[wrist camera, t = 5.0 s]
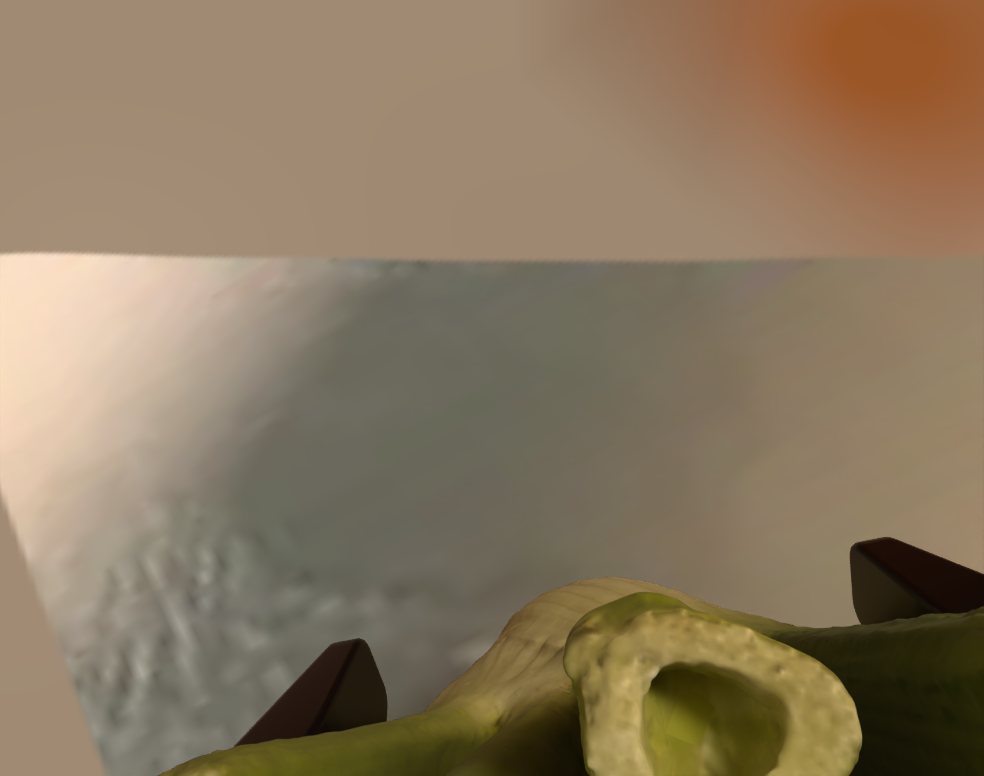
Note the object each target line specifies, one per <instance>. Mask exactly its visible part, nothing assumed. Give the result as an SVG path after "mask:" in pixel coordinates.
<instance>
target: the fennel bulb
mask: <svg viewBox="0 0 984 776" xmlns="http://www.w3.org/2000/svg"><path fill="white" fill-rule="evenodd" d="M158 776H984V606H983V607H980V608H978V609H976V610H972V611H969V612H968V613H961V614H952V613H945V614H925V615H922V616H919V617H917V618H910V619H895V620H892V621H888V622H884V623H879V624H870V625H853V626H849V627H831V628H810V627H796V626H794V625H791V624H786V623H780V622H777V621H774V620H771V619H768V618H764V617H761V616H755V615H749V614H746V613H742V612H738V611H732V610H728V609H724V608H721V607H718V606H715V605H713V604H710V603H707V602H705V601H702V600H699V599H696V598H694V597H691V596H688V595H686V594H684V593H683V592H680V591H678V590H676V589H668V588H665V587H663V586H661V585H656V584H654V583H648V582H646V581H637V580H632V579H627V578H614V577H608V576H607V577H604V578H598V579H586V580H582V581H578V582H574V583H572V584H569V585H566V586H564V587H561V588H558V589H555V590H551V591H548V592H546V593H544V594H542V595H540V596H539V597H537V598H536V599H535V600H533V601H532V602H530V603H528V604H527V605H526V606H525V607H524V608H523V609H521V610H520V611H518V612H517V613H515V614H514V615H513V616H512V617H511V619H510V620H509V622H508V623H507V625H506V626H505V628H504V629H503V631H502V633H501V635H500V637H499V639H498V640H497V641H496V642H495V643H494V644H493V646H492V647H491V648H490V649H489V650H488V652H487V653H486V654H484V655H483V656H482V657H481V658H479V659H478V660H477V661H476V662H475V663H474V664H473V665H472V666H471V667H470V669H469V670H467V671H466V672H465V673H464V674H463V675H462V676H461V677H460V678H458V679H457V680H455V681H454V682H452V683H451V684H449V685H448V686H447V687H446V689H445V690H444V691H443V692H442V693H440V694H439V695H438V697H437V698H436V699H435V700H434V701H433V702H432V703H431V704H430V705H429V706H428V707H427V708H426V710H425V711H424V713H421V714H416V715H411V716H407V717H403V718H400V719H396V720H393V721H387V722H382V723H376V724H371V725H365V726H360V727H356V728H352V729H349V730H344V731H339V732H326V733H322V734H318V735H314V736H305V737H300V738H292V739H276V740H272V741H267V742H261V743H258V744H247V745H239V746H236V747H233V748H231V749H228V750H224V751H223V750H217V751H214V752H212V753H211V754H207V755H202V756H199V757H196V758H194V759H192V760H190V761H187V762H185V763H183V764H180V765H177V766H176V767H174V768H172V769H171V770H169V771H166V772H164V773H162V774H160V775H158Z"/></svg>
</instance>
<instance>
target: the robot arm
mask: <svg viewBox="0 0 984 776" xmlns="http://www.w3.org/2000/svg"><path fill="white" fill-rule="evenodd" d="M850 568H851V583H852V597H853V604H854V609H855V612H856V614H857V617H858V619H859V621H860V623H861V625H870V624H879V623H884V622H888V621H892V620H895V619H910V618H917V617H919V616H922V615H925V614H945V613H952V614H961V613H968V612H969V611H972V610H976V609H978V608H980V607H983V606H984V574H982V573H980V572H977V571H975V570H972V569H970V568H967V567H965V566H962V565H960V564H957V563H955V562H952V561H950V560H947V559H945V558H942V557H939V556H937V555H934V554H932V553H929V552H927V551H924V550H922V549H919V548H917V547H914V546H912V545H909V544H907V543H904V542H902V541H899V540H897V539H894V538H891V537H882V538H877V539H872V540H866V541H861V542H857V543H855V544H854V545H853V546H852V547H851V550H850ZM382 722H387V694H386V690H385V686H384V684H383V681H382V678H381V676H380V673H379V671H378V668H377V666H376V663H375V661H374V658H373V656H372V653H371V650H370V648H369V646H368V644H367V643H366V642H365V640H363V639H360V638H357V639H352V640H347V641H342V642H337V643H333V644H331V645H330V646H329V647H328V648H327V649H326V650H325V651H324V652H323V653H322V654H321V655H320V656H319V657H318V658H317V659H316V660H315V661H314V662H313V663H312V664H311V665H310V667H309V668H308V669H307V670H306V671H305V672H304V673H303V674H302V675H301V676H300V677H299V678H298V679H297V680H296V681H295V682H294V683H293V684H292V686H291V687H290V688H289V689H288V690H287V691H286V692H285V693H284V694H283V695H282V696H281V697H280V698H279V699H278V700H277V701H276V702H275V703H274V705H273V706H272V707H271V708H270V709H269V710H268V711H267V712H266V713H265V714H264V715H263V716H262V717H261V718H260V719H259V720H258V721H257V722H256V723H255V725H254V726H253V727H252V728H251V729H250V730H249V731H248V732H247V733H246V734H245V735H244V736H243V737H242V738H241V739H240V740H239V741H238V742H237V744H236V745H235V746H234V747H236V746H239V745H247V744H258V743H261V742H267V741H272V740H276V739H292V738H300V737H305V736H314V735H318V734H322V733H326V732H339V731H344V730H349V729H352V728H356V727H360V726H365V725H371V724H376V723H382Z"/></svg>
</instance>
